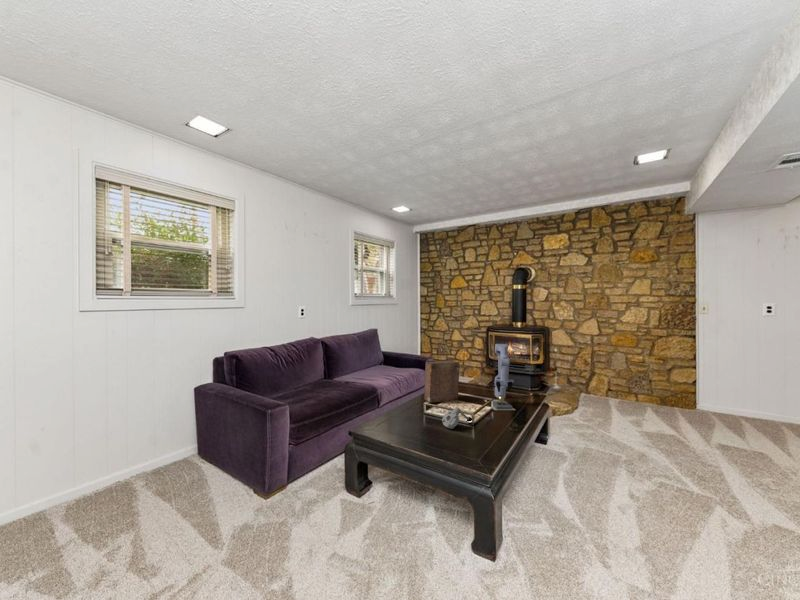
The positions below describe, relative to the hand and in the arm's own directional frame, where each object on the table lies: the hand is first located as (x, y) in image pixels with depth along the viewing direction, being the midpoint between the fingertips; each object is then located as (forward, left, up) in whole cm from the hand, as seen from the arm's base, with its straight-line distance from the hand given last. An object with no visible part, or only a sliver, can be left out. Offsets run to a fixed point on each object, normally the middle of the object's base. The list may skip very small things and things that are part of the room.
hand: (503, 391), depth 257 cm
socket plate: (+4, -5, -9) cm, 11 cm away
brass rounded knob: (+8, -5, -9) cm, 13 cm away
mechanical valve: (+39, -47, -10) cm, 62 cm away
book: (-10, -46, -10) cm, 48 cm away
